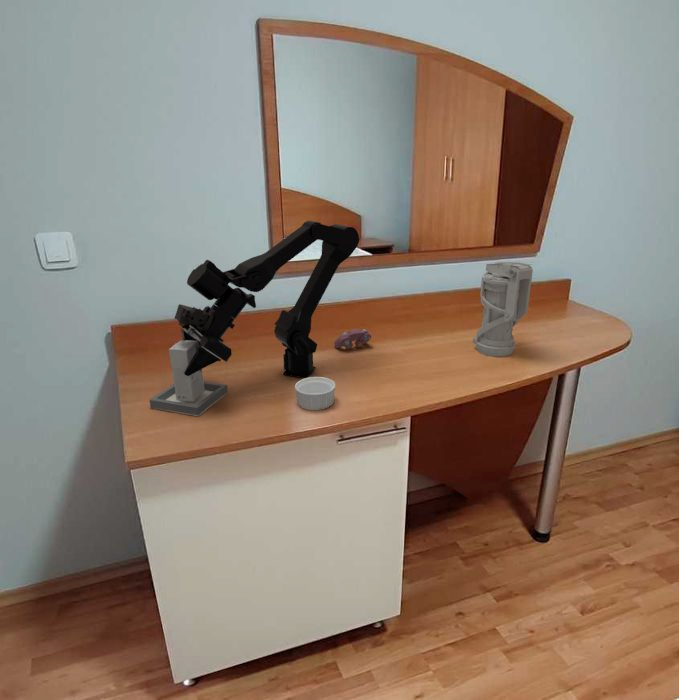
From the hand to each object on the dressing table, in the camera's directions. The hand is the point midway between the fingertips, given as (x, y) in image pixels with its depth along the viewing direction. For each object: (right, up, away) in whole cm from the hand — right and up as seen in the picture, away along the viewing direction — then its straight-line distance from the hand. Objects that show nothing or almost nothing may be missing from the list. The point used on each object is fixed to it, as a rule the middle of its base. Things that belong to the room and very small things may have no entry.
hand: (180, 369), depth 111 cm
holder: (+1, -7, +3) cm, 8 cm away
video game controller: (+38, +5, +33) cm, 51 cm away
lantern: (+78, +4, +29) cm, 83 cm away
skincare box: (+1, -6, +3) cm, 7 cm away
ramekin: (+29, -8, +2) cm, 30 cm away
